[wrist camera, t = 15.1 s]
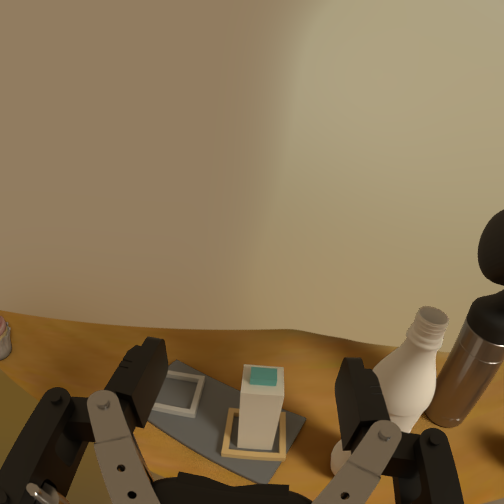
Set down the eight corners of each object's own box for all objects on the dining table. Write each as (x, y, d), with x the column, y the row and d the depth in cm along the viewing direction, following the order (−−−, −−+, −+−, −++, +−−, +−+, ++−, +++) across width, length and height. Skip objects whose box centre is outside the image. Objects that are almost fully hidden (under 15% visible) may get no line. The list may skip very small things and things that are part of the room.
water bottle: (317, 479, 28) (391, 327, 19) (335, 440, 34) (397, 287, 24) (367, 493, 24) (475, 349, 15) (380, 453, 30) (464, 305, 21)
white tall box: (240, 422, 36) (244, 357, 31) (272, 424, 36) (284, 360, 31) (237, 447, 32) (240, 386, 27) (271, 450, 32) (285, 389, 27)
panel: (175, 361, 48) (174, 354, 47) (308, 420, 37) (310, 414, 37) (122, 402, 37) (120, 395, 37) (268, 488, 27) (269, 484, 26)
